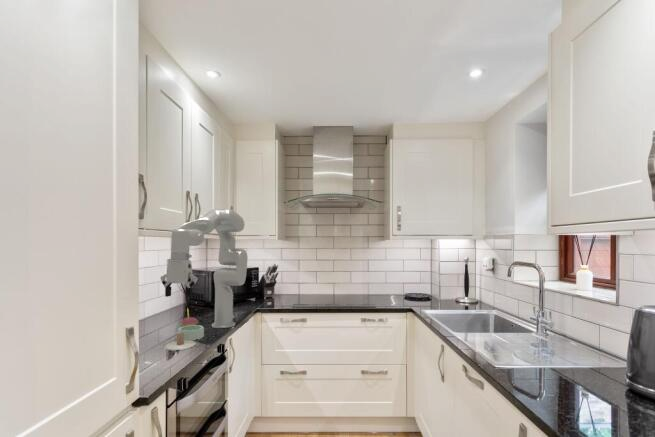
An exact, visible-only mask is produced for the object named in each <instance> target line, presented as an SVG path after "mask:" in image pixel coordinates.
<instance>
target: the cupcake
mask: <svg viewBox="0 0 655 437" xmlns="http://www.w3.org/2000/svg"><path fill="white" fill-rule="evenodd" d="M186 308H187V309H186V311H187V313H186V314H187V317H185V318H183V319H182V320H181V322H180V326H181V327H183V326H189V325H199V320H198V319H197V318H196V317H192V316H190V313H189V312H190V311H189V308H188V307H186Z"/></svg>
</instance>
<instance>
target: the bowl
mask: <svg viewBox="0 0 655 437" xmlns="http://www.w3.org/2000/svg"><path fill="white" fill-rule="evenodd" d="M179 333H184V340H191V341H196V339H198V340H200V339H202V338H204V336H205V327H204V326H203V325H200V324H196V325H189V326H183V327H182V326H180V327H178V328H177V334H179Z"/></svg>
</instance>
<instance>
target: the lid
mask: <svg viewBox="0 0 655 437" xmlns="http://www.w3.org/2000/svg"><path fill="white" fill-rule="evenodd" d="M195 344H196V342H195V340H184V333H179V334H178V333H177V334H176V340H175V341H171V342H168V343H166V344H165V348H166V349H167V350H166V349H165V350H166V351H173V352H174V351H176V350H180V351H181V350H183V349H187V350H189V349H188V348H190V349H192V348H194V347H195V346H196V345H195ZM194 345H195V346H194ZM193 346H194V347H193ZM191 347H192V348H191ZM176 352H177V351H176Z"/></svg>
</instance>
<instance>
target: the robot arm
mask: <svg viewBox="0 0 655 437" xmlns="http://www.w3.org/2000/svg"><path fill="white" fill-rule="evenodd" d="M244 229H245V221H244V218H243V217H242V216H241V215H240V214H239V213H237V212H236V211H235V210H233V209H231V208H214V209H211V210H210V211H208V212H207V213H205V214H204V215H203V216H202V217H200V218H198V219H195V220H190V221H189V222H185V223H183V224H181V225H180V226H178V227H177V228H175V229H174V228H173V230H172V232H171V238H170V239H171V242H170V244H171V246H170V259H169V261H168V264H167V270H166V273H165V274H164V275H162V276H160V281H161V283H162V285H163V287H164V295H165V297H171V296H172V286H171V285H173V284H184V285H185V286H186V288H185V298H191V297H192V293H193V287H194V286H195V285H196V284H197V281H198V280H199V277H198V276H196V275H194V274H193V266H192V260H190V258H192V254H191V253H190V246H191V247H196V246H200V245H202V244H203V242H204V240H205V235H207V234H209V233H212V232H213V231H214V230H215V231H216V233H217V235H218V238H219V250H218V263H219V264H220V265H221V266H232V267H220V268H217V269H216V270H215V271H214V273H213V282H214V322H212V323H211V328H214V329H228V328H232V327H234V326H236V322H235V321H233V320H234V319H235V315H234V314H233V311H234V309H233V307H234V293H233V290H232V288H231V286H233V287H234V286H235V287H237V286H238V287H240V286H241V287H242V286H243V285H244V284H245V282H246V278H247V270H248V252H247V251H246V250H245V249H244V248H236V238H235V236H234V234H233V233H240V232H242V231H243V230H244ZM233 266H235V267H233Z"/></svg>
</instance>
